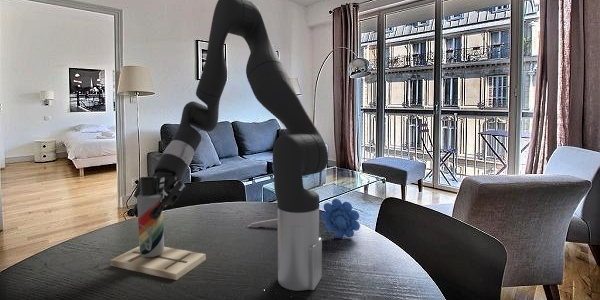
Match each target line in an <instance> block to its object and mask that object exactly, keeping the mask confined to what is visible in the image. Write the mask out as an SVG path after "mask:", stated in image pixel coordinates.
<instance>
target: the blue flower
mask: <svg viewBox="0 0 600 300" xmlns="http://www.w3.org/2000/svg"><path fill="white" fill-rule="evenodd" d="M323 210H324V211H323V212H321V214H320V218H321V220H322V221H323V222H325V225H324V228H325V230H326V231H328V232H329V233H332V232H333V234H334V235H335V236H336V237H337V238H338V239H342V238H344V236H345V237H347V238H352V237H354V235H355V231H359V230H360V228H361V225H360V223H359V222H358V220H359V219H360V214H359V212H358V211H357V210H356V209H353V206H352V204H351V202H348V201H344V202H342V201H341V200H340V199H339V198H334V199H332V201H331V203H330V202H325V203H324V204H323Z"/></svg>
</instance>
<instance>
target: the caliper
mask: <svg viewBox="0 0 600 300" xmlns="http://www.w3.org/2000/svg"><path fill="white" fill-rule="evenodd" d="M271 225H278V218H273V219H272V218H271V219H267V220H262V221H256V222H251V223H250V224H248V225H247V226H246V227H247V228H260V227H261V228H262V227H267V226H271Z"/></svg>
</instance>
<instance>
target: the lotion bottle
mask: <svg viewBox="0 0 600 300" xmlns="http://www.w3.org/2000/svg"><path fill="white" fill-rule="evenodd" d="M139 180H140V188H141V192H140V193H141V194H140V195H138V196H137V198H136V203H137V208H138V217H137V223H138V224H137V225H138V242H139V243H138V245H139V246H140V254H141V256H143V257H154V256H158V255H160V254H162V253H163V252H164V247H165V236H164V235H165V234H164V212H163V211H162V212H161V214H160V216H159V217H158V218H157V219H156V220H155V219H153V218H151V217H150V216H149V215H150V213H151V211H153V210H154V209H155V207H158V206H159V204H160V203H159V200H160V198H161V194H159V193H158V185H157V176H153V177H151V176H141V177H139Z"/></svg>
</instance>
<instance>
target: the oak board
mask: <svg viewBox="0 0 600 300" xmlns="http://www.w3.org/2000/svg"><path fill="white" fill-rule="evenodd" d="M206 260H207V256H206V253H202V252H195V251H190V250H185V249H180V248H174V247H169V246H164V252H163V253H162V254H160V255H158V256H154V257H143V256H141V254H140V245H139V246H137V247H135V248H132V249H130V250H128V251H126V252H124V253H122V254H120V255H118V256H115V257H114V258H112V259H110V266H111V267H115V268H120V269H124V270H128V271H133V272H138V273H142V274H146V275H151V276H156V277H161V278H165V279H170V280H176V281H177V280H179V279H180V278H182V277H183V276H185V275H186V274H187V273H188V272H190V271H192V270H193V269H195V268H196V267H198V266H199V265H201V264H202V263H203V262H205V261H206Z"/></svg>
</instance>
